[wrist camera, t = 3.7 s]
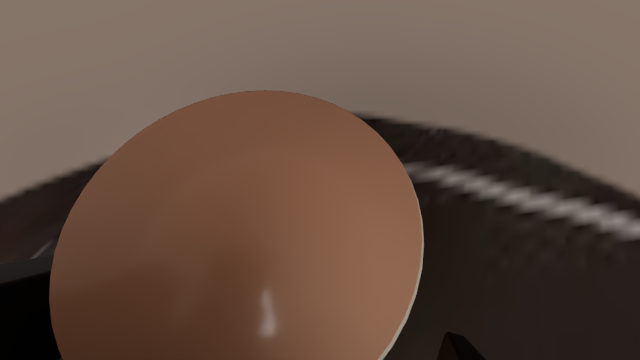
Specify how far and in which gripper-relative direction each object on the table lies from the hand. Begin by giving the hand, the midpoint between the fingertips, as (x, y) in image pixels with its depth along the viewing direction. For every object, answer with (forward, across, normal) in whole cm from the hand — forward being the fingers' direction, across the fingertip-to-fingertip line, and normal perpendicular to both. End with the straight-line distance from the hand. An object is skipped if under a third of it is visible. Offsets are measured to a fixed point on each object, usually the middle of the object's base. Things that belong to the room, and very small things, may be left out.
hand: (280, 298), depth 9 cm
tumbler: (+6, 0, +6) cm, 8 cm away
